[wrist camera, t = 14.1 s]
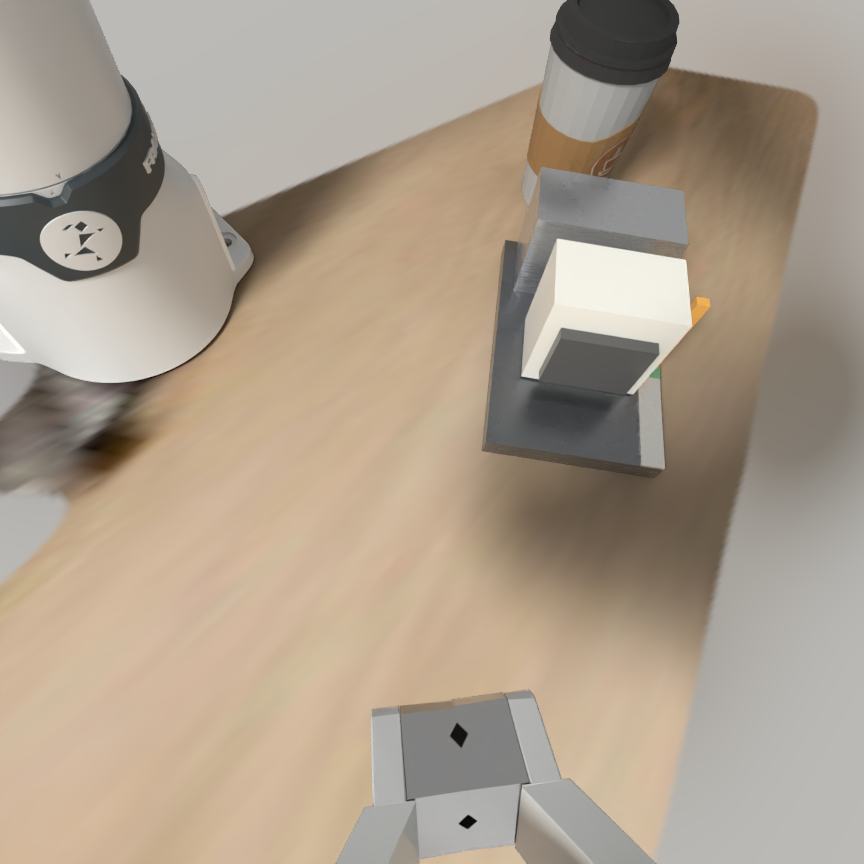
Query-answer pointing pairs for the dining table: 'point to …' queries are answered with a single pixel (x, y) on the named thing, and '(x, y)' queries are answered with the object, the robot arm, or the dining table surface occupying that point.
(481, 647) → the dining table surface
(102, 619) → the dining table surface
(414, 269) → the dining table surface
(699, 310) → the cream rectangular block
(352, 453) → the dining table surface
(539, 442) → the base
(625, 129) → the coffee cup
